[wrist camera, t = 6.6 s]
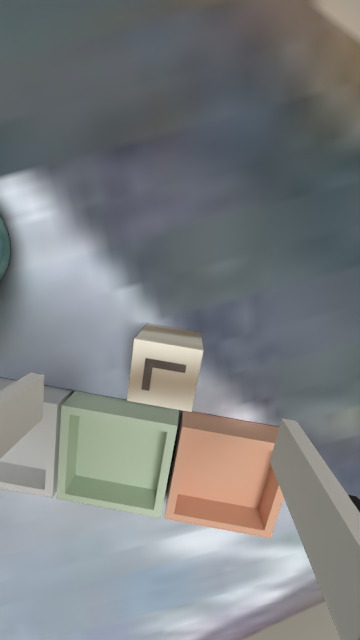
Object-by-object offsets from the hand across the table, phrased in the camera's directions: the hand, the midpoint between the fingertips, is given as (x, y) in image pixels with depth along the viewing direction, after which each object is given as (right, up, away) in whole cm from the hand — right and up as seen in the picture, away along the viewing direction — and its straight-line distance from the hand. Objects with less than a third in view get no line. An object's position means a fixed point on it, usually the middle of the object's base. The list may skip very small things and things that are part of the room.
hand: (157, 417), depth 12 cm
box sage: (-5, -8, +12) cm, 15 cm away
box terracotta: (+6, -10, +11) cm, 16 cm away
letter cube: (0, +2, +9) cm, 10 cm away
